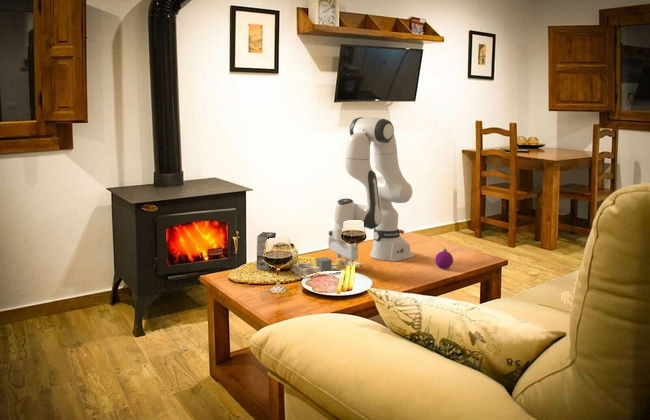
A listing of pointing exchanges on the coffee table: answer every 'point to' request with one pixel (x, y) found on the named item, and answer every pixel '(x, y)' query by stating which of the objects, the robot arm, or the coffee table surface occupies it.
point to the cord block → (328, 263)
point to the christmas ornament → (444, 259)
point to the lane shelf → (309, 269)
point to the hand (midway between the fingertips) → (342, 264)
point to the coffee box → (260, 249)
